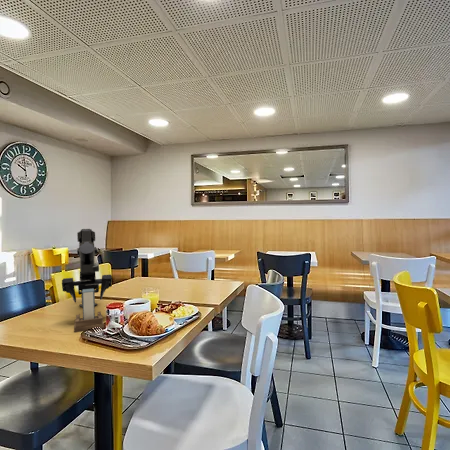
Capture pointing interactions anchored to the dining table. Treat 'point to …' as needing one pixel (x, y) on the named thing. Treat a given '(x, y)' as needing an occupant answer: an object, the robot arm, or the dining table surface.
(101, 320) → the stand
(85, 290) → the grey rectangular block
